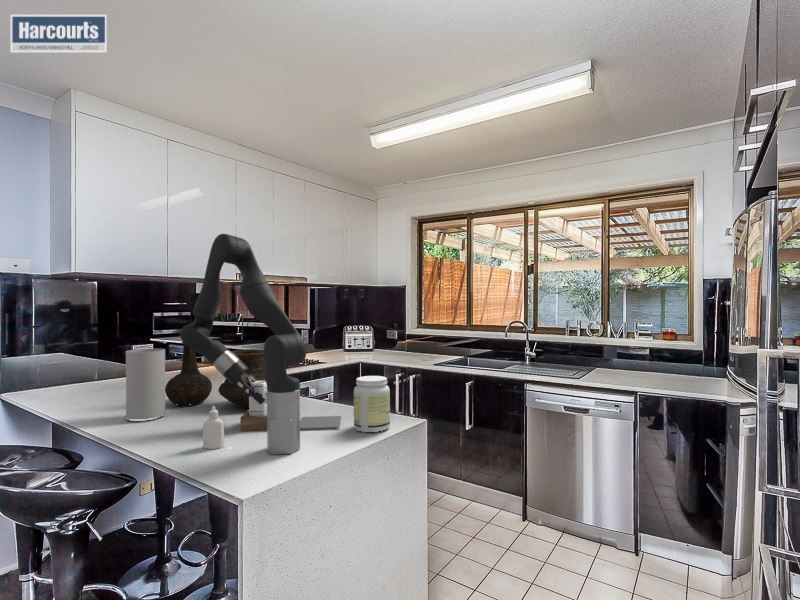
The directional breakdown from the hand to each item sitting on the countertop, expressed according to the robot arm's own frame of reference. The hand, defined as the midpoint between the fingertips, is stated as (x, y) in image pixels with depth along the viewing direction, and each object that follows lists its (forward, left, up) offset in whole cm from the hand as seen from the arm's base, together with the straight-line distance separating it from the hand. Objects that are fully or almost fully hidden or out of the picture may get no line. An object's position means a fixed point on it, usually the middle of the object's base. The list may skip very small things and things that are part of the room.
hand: (265, 399), depth 149 cm
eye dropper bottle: (-21, +10, -9) cm, 25 cm away
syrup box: (0, +2, -8) cm, 9 cm away
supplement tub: (-7, -37, -9) cm, 38 cm away
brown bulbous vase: (+37, +39, -9) cm, 55 cm away
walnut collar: (0, +1, -9) cm, 9 cm away
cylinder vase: (+15, +46, -9) cm, 50 cm away
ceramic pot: (+30, +12, -9) cm, 34 cm away
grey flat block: (0, -19, -9) cm, 21 cm away
